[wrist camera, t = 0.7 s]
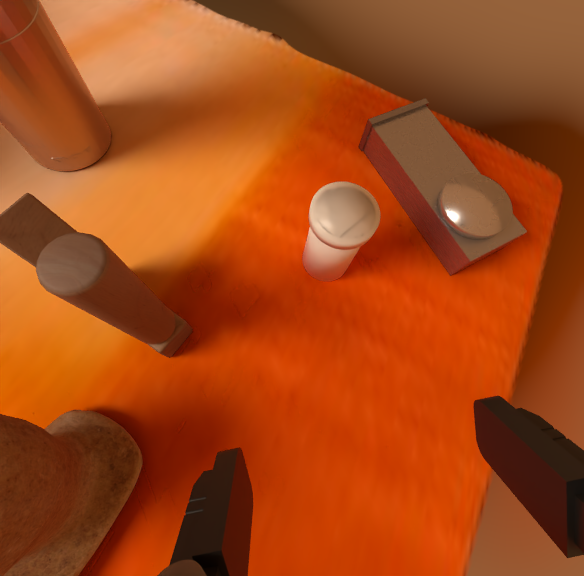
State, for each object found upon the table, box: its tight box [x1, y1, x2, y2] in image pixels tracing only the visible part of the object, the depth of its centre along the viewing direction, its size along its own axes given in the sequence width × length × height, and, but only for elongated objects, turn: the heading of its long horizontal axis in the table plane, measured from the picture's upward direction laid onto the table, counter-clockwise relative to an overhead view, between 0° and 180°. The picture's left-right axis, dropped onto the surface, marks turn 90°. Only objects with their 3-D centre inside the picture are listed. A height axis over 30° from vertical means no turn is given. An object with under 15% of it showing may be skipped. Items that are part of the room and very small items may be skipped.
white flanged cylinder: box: [302, 182, 380, 281], centre depth 33 cm, size 6×6×10 cm
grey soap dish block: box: [359, 98, 527, 276], centre depth 40 cm, size 20×8×5 cm, turn 28°
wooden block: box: [0, 193, 193, 358], centre depth 26 cm, size 4×11×18 cm, turn 55°
